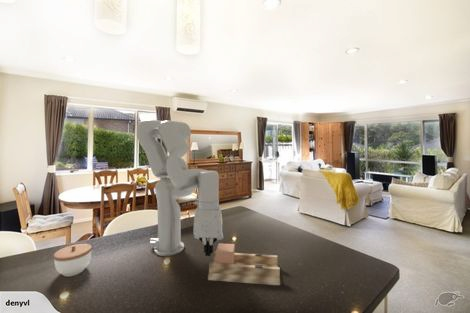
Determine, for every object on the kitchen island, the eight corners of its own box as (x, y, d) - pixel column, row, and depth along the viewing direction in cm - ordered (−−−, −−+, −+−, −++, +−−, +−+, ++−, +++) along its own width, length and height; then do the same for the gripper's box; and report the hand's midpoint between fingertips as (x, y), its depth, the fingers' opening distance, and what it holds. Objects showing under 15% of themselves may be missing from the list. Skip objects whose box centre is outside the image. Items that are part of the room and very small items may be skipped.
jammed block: (215, 270, 73) (215, 250, 73) (218, 261, 79) (218, 243, 79) (232, 271, 72) (232, 252, 72) (234, 262, 78) (234, 244, 78)
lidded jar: (55, 269, 76) (54, 244, 75) (91, 260, 82) (90, 236, 82) (52, 285, 67) (52, 256, 67) (92, 273, 74) (92, 247, 73)
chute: (208, 279, 70) (208, 266, 70) (215, 260, 82) (215, 249, 82) (280, 285, 68) (280, 271, 67) (276, 265, 80) (276, 252, 79)
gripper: (185, 206, 73) (185, 258, 73) (227, 208, 71) (227, 261, 71) (191, 201, 80) (192, 248, 81) (230, 202, 78) (230, 250, 79)
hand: (208, 254), depth 76 cm, fingers closed
